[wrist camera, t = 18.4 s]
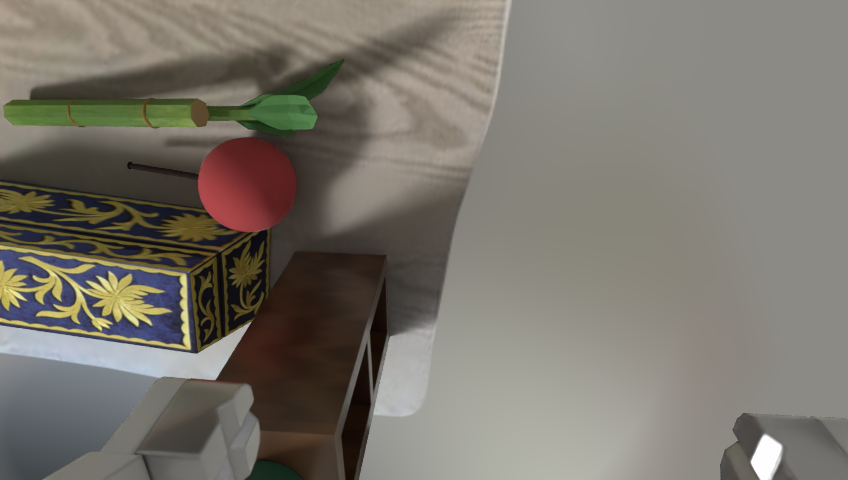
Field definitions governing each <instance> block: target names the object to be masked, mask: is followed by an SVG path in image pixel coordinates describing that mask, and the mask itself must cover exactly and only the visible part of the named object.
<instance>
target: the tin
mask: <svg viewBox="0 0 848 480" xmlns="http://www.w3.org/2000/svg"><path fill="white" fill-rule="evenodd" d="M244 480H303V479H302V477H301V476H300V475H299V474H298V473H297V472H295V471H294V470H292V469H291V468H289V467H287V466H285V465H283V464H280V463H277V462H273V461H266V460H259V461H256V462H255V464H254V466H253V469H252V471H251V474H250V475H249V476H248V477H247V478H246V479H244Z"/></svg>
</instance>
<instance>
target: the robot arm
mask: <svg viewBox="0 0 848 480" xmlns="http://www.w3.org/2000/svg"><path fill="white" fill-rule="evenodd" d="M253 402H254V397H253V393H252V388H251V385H248V384H246V383H239V382H227V381H216V380H204V379H193V378H191V379H185V378H174V377H162V378H160V379H158V380H157V381H155V382H154V383H153V384H152V386H151V387H150V388H149V389H148V391H147V392H146V393H145V395H144V396H143V397H142V398H141V400H140V401H139V402H138V404H137V405H136V406H135V407H134V409H133V410H132V411H131V413H130V414H129V415H128V416H127V418H126V419H125V420H124V421H123V423H122V424H121V425H120V427H119V428H118V429H117V430H116V432H115V433H114V434H113V435H112V437H111V438H110V439H109V441H108V442H107V443H106V444H105V446H104V447H103V448H102V449H101V451H100V452H89V453H87V454H86V455H84V456H82V457H80V458H79V459H77V460H75V461H73V462H72V463H70V464H68V465H67V466H65V467H63V468H61V469H60V470H58V471H56V472H55V473H53V474H51V475H49V476H48V477H46V478H44V479H43V480H244V479H246V478H247V477H248V476H249V475H250V474H251V471H252V469H253V466H254V464H255V462H256V459H257V454H258V449H259V445H260V426H259V421H258V418H257V417H256V416H255V415H253V414H252V413H251V412H250V411H249V410H250V408H251V406H252V404H253ZM733 432H734V434H735V436H736V437H737V439H738V441H737V442H736V443H734V444H733V445H731V446H730V447H728V448H727V449H725V451H724V454H723V457H722V461H721V464H720V473H721V480H848V419H846V418H835V417H813V416H811V417H806V416H791V415H772V414H753V413H743V414H742V415H741V416H740V417H739V418H737V420H736V423H735V425H734V428H733Z"/></svg>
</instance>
